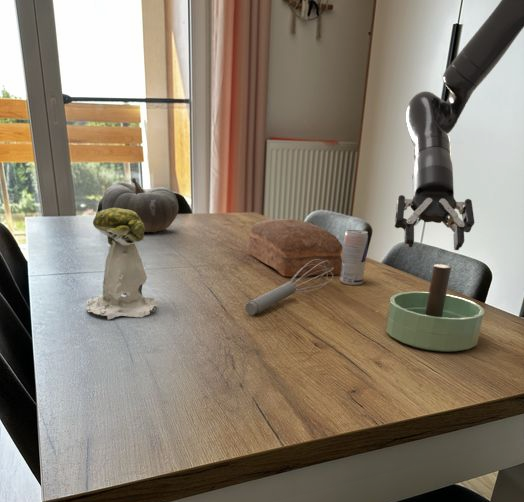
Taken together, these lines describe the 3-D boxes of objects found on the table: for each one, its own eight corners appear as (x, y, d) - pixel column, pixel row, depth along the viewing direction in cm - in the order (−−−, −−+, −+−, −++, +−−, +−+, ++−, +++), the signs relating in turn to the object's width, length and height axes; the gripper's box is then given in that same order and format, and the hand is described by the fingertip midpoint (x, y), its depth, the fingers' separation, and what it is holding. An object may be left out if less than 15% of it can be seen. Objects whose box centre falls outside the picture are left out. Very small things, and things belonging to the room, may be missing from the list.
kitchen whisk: (230, 315, 96) (231, 282, 93) (313, 281, 122) (316, 255, 120) (257, 322, 93) (259, 288, 91) (337, 286, 120) (340, 259, 117)
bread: (282, 279, 122) (285, 230, 118) (244, 252, 148) (245, 212, 143) (345, 275, 128) (350, 229, 124) (298, 251, 153) (301, 212, 149)
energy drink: (364, 281, 124) (371, 231, 119) (359, 286, 119) (365, 234, 114) (343, 278, 126) (348, 228, 121) (337, 283, 121) (342, 231, 116)
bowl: (450, 322, 98) (455, 291, 96) (495, 353, 84) (503, 318, 82) (373, 322, 96) (377, 291, 94) (406, 355, 82) (412, 319, 79)
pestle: (436, 329, 92) (448, 263, 88) (447, 338, 88) (461, 269, 84) (413, 329, 91) (424, 263, 87) (423, 338, 87) (436, 269, 83)
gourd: (101, 215, 183) (106, 165, 175) (171, 227, 190) (179, 180, 183) (97, 235, 162) (102, 179, 154) (176, 248, 169) (185, 195, 162)
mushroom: (83, 302, 99) (73, 204, 92) (149, 296, 104) (145, 203, 97) (90, 321, 89) (79, 213, 82) (163, 314, 94) (159, 212, 87)
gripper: (399, 161, 99) (399, 231, 93) (476, 165, 98) (480, 236, 91) (392, 188, 106) (391, 255, 100) (463, 192, 104) (467, 259, 98)
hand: (434, 246), depth 95 cm, fingers open, 8 cm apart
